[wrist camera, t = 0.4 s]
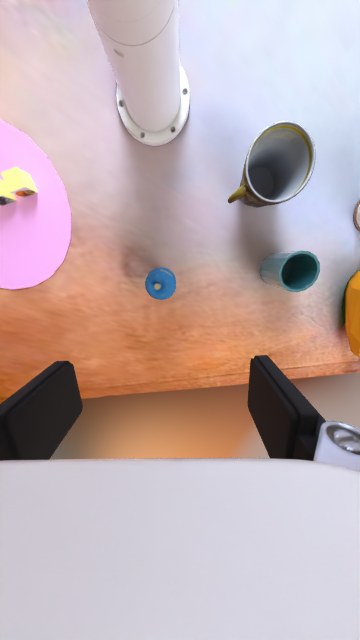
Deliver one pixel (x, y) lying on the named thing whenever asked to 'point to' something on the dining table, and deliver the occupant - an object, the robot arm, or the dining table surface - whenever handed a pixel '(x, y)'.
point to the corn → (352, 312)
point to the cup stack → (357, 216)
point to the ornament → (160, 283)
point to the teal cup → (290, 270)
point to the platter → (30, 212)
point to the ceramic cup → (276, 165)
